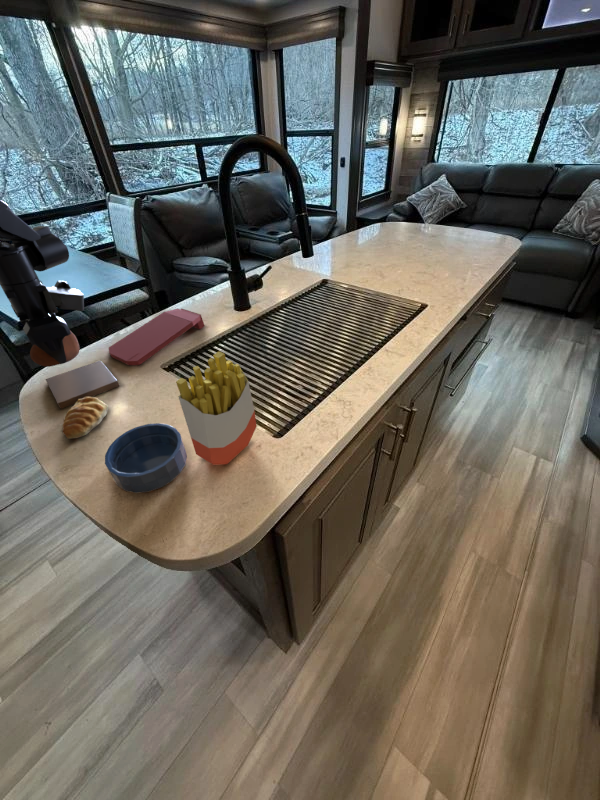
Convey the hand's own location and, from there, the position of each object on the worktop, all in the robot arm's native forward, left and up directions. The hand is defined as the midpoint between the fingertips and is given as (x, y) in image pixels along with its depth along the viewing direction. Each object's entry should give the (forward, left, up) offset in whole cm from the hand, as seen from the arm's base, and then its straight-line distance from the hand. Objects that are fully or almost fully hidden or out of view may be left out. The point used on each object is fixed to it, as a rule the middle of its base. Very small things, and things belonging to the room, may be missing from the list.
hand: (59, 355), depth 68 cm
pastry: (-1, -12, -9) cm, 16 cm away
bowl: (+4, -32, -9) cm, 34 cm away
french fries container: (+16, -38, -9) cm, 42 cm away
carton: (+24, +10, -9) cm, 27 cm away
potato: (0, 0, -2) cm, 2 cm away
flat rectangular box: (+2, +2, -9) cm, 10 cm away
